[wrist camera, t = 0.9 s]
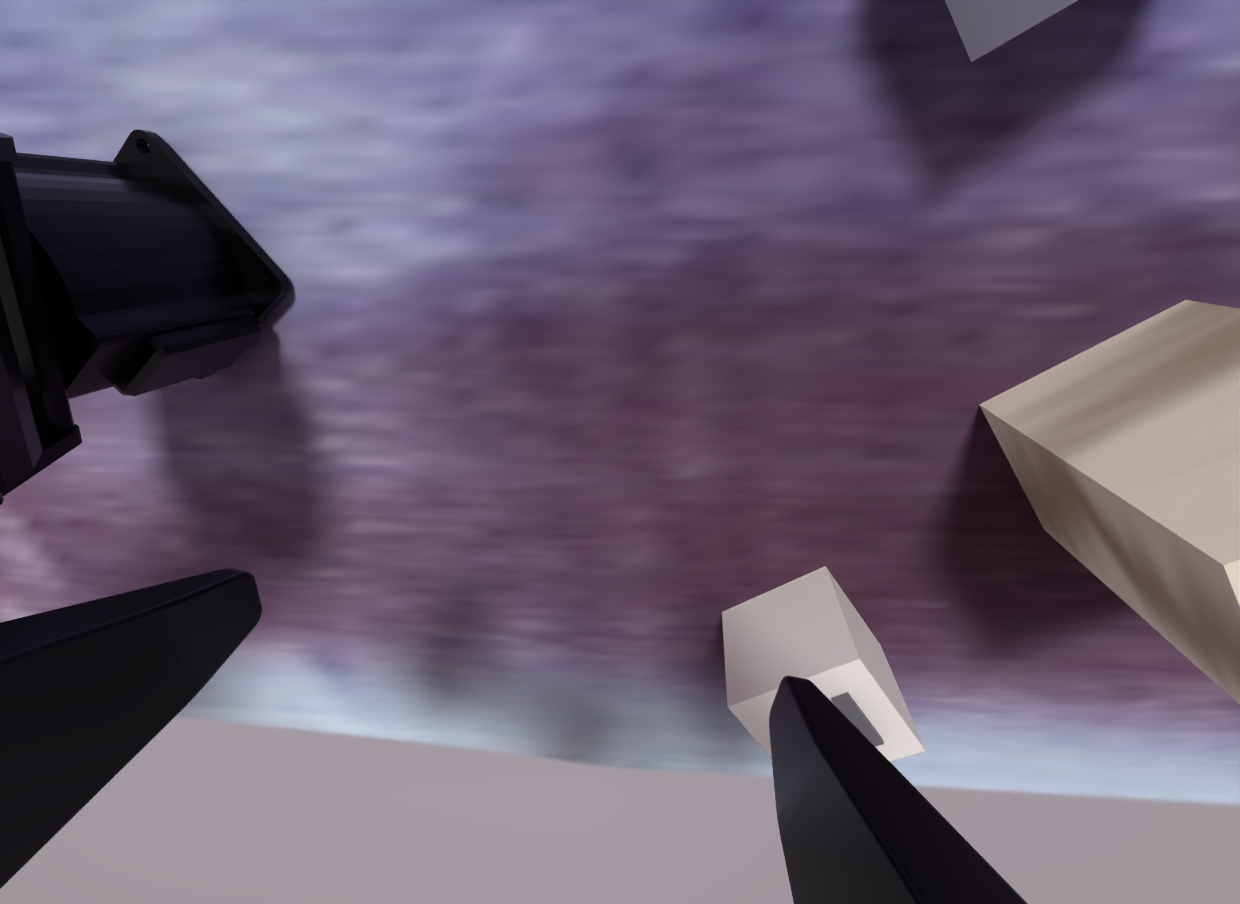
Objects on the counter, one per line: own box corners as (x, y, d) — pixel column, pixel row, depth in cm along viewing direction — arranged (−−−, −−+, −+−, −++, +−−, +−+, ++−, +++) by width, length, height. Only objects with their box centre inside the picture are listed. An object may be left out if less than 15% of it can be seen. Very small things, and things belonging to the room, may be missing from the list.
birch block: (979, 404, 17) (1223, 565, 9) (1184, 299, 15) (1734, 389, 7) (1043, 529, 19) (1301, 760, 11) (1238, 450, 17) (1739, 663, 9)
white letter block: (721, 610, 23) (727, 711, 18) (824, 564, 21) (861, 663, 16) (778, 681, 24) (797, 793, 19) (879, 643, 22) (928, 756, 18)
